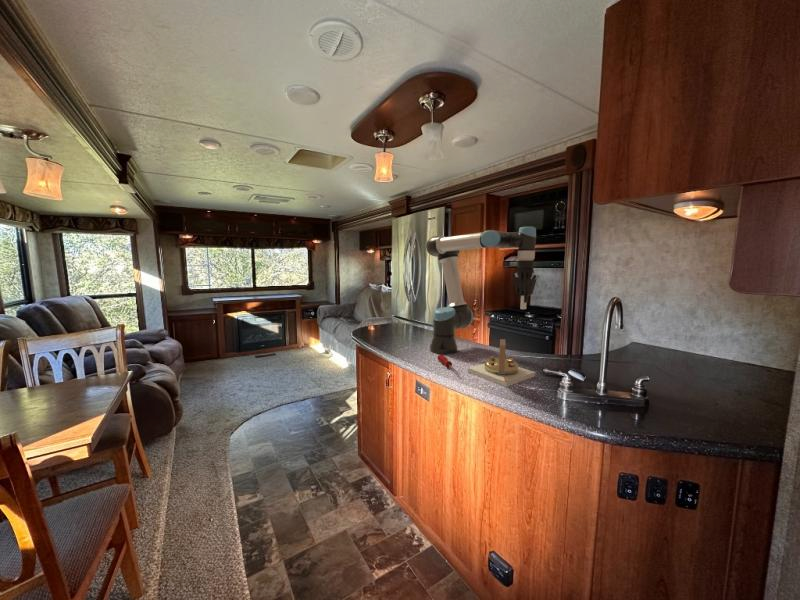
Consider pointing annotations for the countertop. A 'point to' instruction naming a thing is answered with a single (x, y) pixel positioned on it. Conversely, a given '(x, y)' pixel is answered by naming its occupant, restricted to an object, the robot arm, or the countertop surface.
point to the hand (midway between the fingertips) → (523, 308)
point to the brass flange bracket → (501, 363)
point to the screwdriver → (446, 362)
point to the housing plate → (502, 379)
